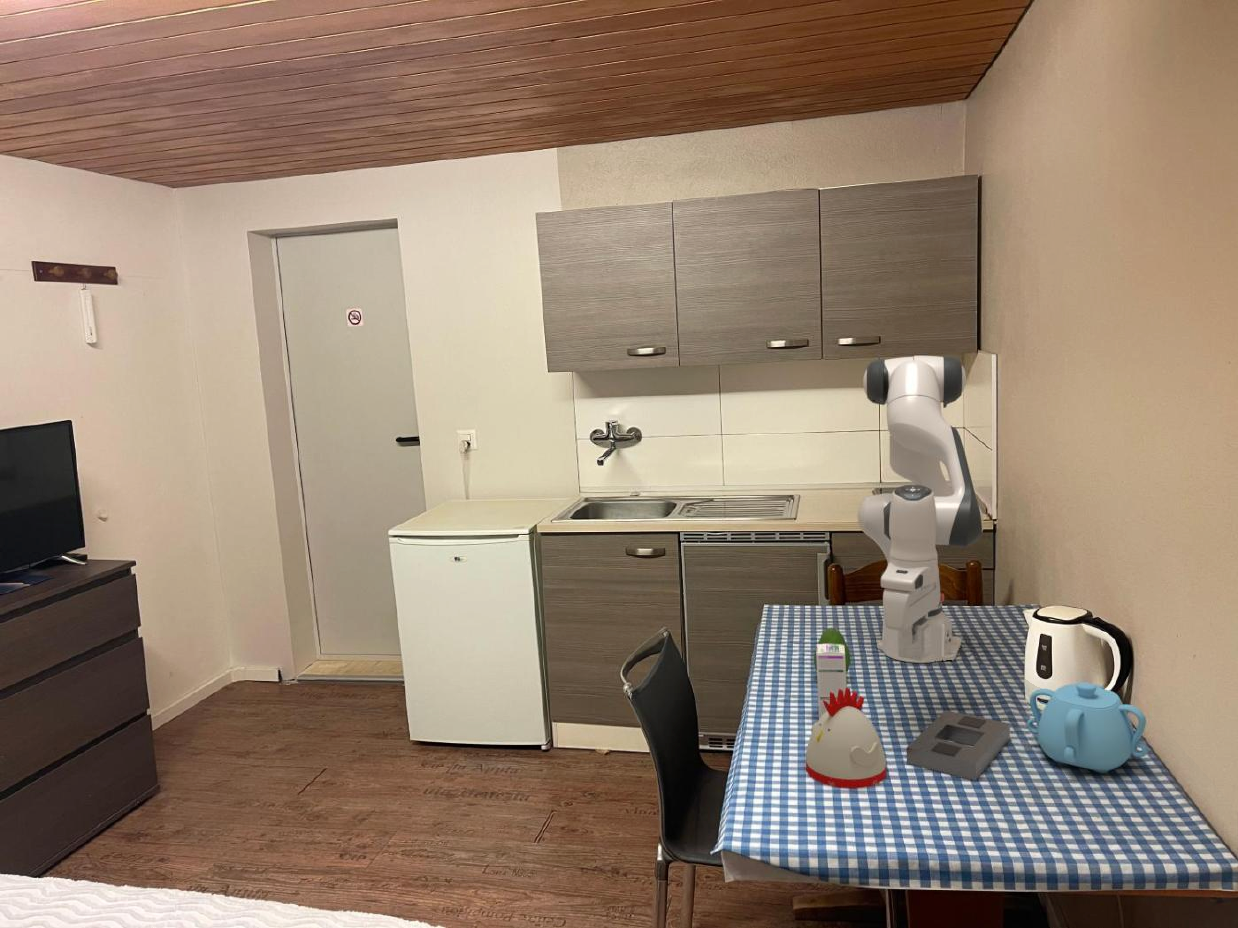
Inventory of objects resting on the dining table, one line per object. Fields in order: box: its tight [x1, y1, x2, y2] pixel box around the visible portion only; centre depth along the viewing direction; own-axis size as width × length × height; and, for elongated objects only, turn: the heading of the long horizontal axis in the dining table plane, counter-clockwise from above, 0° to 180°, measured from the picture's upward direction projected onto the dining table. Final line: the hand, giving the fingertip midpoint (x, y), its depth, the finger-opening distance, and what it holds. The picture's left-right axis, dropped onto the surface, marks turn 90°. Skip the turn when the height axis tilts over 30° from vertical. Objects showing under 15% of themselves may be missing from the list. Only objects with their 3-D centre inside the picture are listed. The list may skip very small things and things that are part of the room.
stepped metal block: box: [898, 618, 930, 661], centre depth 176 cm, size 4×5×7 cm
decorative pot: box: [1026, 681, 1149, 774], centre depth 160 cm, size 16×16×14 cm
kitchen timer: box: [805, 686, 887, 789], centre depth 159 cm, size 14×14×15 cm
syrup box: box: [815, 643, 848, 720], centre depth 182 cm, size 6×6×14 cm
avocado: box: [813, 627, 851, 674], centre depth 203 cm, size 8×8×12 cm
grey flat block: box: [906, 709, 1011, 782], centre depth 165 cm, size 20×12×3 cm, turn 141°
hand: (913, 639), depth 176 cm, fingers closed on stepped metal block, 4 cm apart
